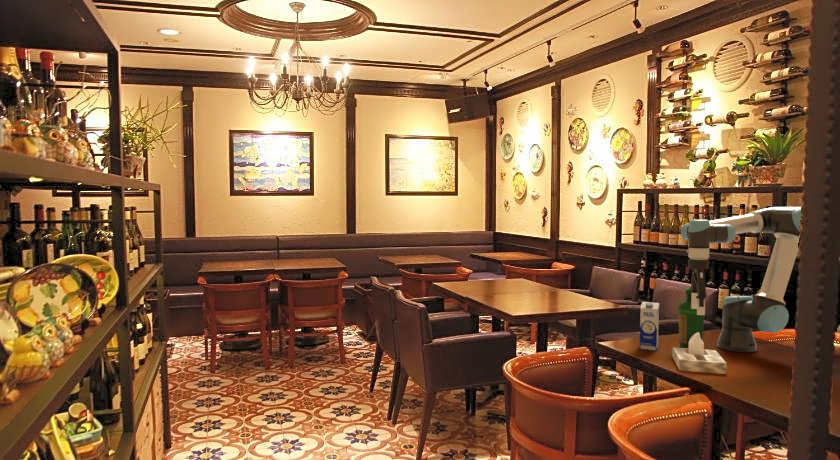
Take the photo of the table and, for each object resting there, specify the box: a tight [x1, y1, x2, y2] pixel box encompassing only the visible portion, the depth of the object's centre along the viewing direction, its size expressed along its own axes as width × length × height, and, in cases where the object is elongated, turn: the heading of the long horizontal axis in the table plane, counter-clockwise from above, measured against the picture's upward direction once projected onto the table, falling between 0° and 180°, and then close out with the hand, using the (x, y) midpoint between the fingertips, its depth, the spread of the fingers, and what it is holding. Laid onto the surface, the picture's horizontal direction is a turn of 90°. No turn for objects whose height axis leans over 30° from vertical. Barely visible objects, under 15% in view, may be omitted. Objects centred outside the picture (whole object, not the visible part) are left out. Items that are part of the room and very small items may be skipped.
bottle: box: [677, 284, 705, 348], centre depth 255 cm, size 11×11×28 cm
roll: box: [688, 332, 705, 355], centre depth 237 cm, size 6×12×6 cm
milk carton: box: [639, 301, 660, 352], centre depth 258 cm, size 7×7×20 cm
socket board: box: [671, 347, 728, 375], centre depth 232 cm, size 16×21×4 cm
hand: (697, 311), depth 236 cm, fingers open, 13 cm apart
